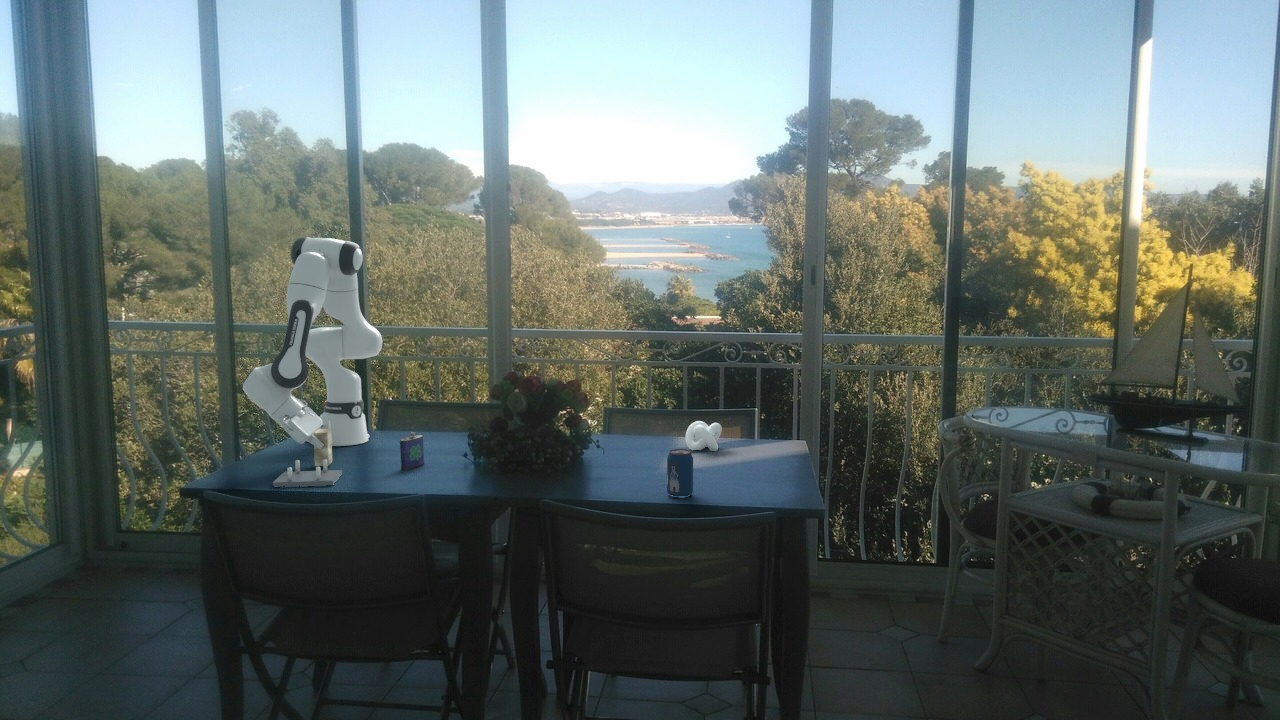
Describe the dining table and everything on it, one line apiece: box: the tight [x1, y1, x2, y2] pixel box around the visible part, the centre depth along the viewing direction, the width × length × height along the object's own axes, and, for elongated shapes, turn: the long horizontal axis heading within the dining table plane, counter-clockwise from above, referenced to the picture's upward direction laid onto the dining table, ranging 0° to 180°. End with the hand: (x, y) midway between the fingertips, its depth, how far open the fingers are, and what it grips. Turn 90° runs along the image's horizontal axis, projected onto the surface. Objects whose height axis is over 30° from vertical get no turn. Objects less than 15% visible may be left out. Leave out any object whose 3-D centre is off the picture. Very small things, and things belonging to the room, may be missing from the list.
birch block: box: [313, 429, 333, 467], centre depth 276 cm, size 4×5×10 cm
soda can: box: [666, 448, 694, 496], centre depth 245 cm, size 7×7×12 cm
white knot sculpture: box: [685, 420, 723, 452], centre depth 299 cm, size 11×12×9 cm
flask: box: [399, 431, 425, 471], centre depth 276 cm, size 9×3×11 cm, turn 152°
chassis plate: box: [272, 459, 343, 488], centre depth 260 cm, size 16×12×5 cm
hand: (325, 444), depth 276 cm, fingers closed on birch block, 5 cm apart
